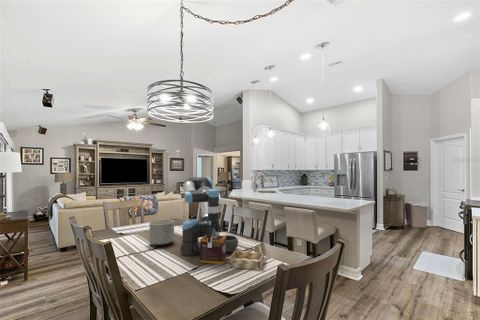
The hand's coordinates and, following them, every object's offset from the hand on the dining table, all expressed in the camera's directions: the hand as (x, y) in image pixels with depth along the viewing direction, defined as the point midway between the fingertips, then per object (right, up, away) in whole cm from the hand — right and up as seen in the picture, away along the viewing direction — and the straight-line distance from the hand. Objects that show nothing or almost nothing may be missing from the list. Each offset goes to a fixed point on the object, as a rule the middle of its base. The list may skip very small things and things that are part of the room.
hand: (213, 244), depth 163 cm
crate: (+22, -11, -6) cm, 25 cm away
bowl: (+9, -12, +18) cm, 23 cm away
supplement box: (0, -11, 0) cm, 11 cm away
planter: (-46, -12, +34) cm, 58 cm away
